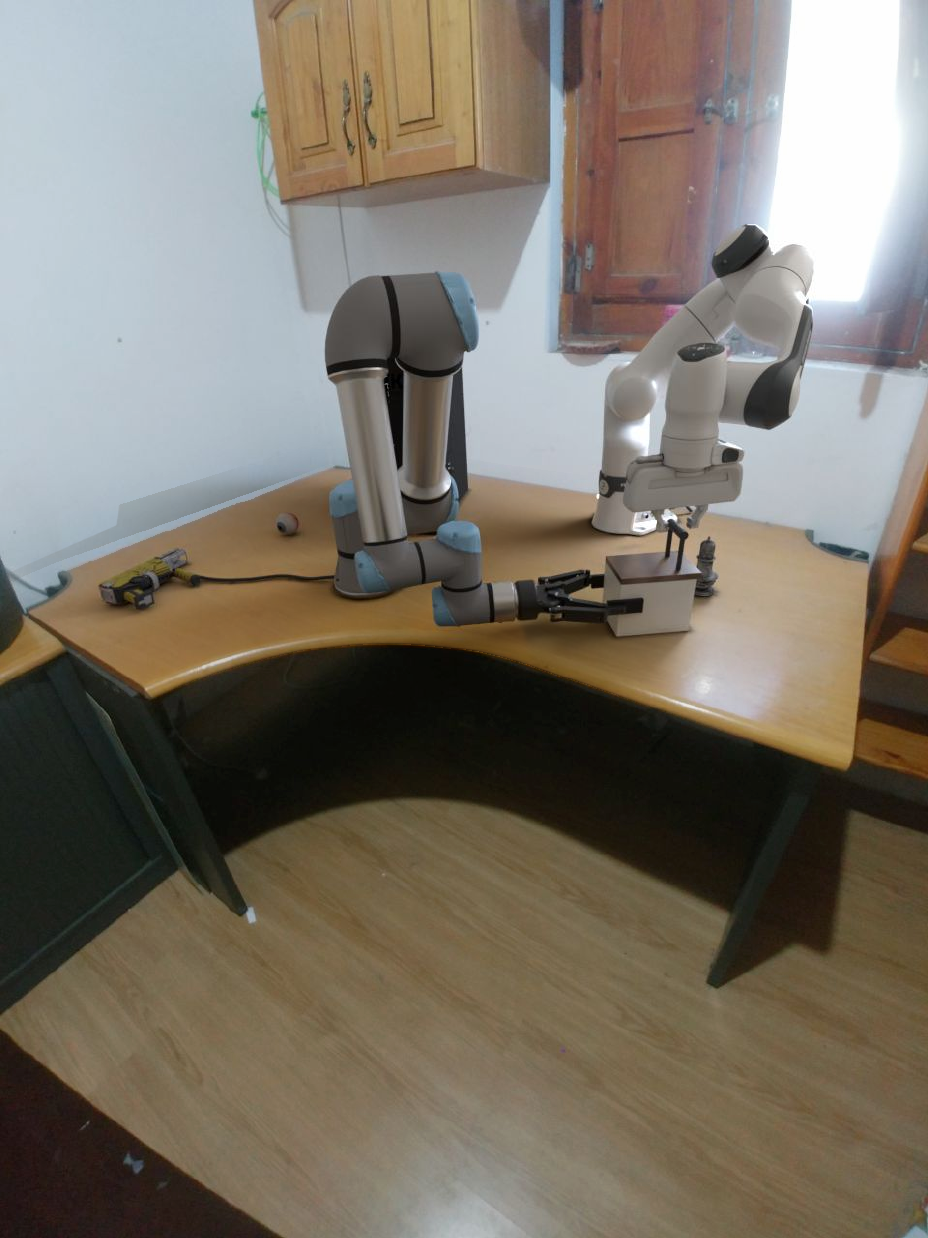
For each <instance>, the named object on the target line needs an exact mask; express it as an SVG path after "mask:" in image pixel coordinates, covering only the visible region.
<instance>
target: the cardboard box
mask: <svg viewBox="0 0 928 1238" xmlns="http://www.w3.org/2000/svg"><path fill="white" fill-rule="evenodd" d="M387 365H388V371H389V372H388V374H387V375H386V376H385V378H384V387H385V394H386V400H387V407H388V413H389V420H390V426H391V433H392V439H393V446H394V452H395V459H396V465H397V471H398V470H399V468H400V467H401V466H403V407H404V371H403V370H402V369H401V368H400V367H399V366H398V365H397V363H396V360H395V358H387ZM463 375H464V374H463V366H462V367H461V369H460V370H459V371H458V372H457V373H455V374H454V375H453V381H452V392H451V404H450V415H449V427H448V439H447V450H446V462H445V469H446V470H447V471H448V472H449V474H450V475H451V476H452V477H453V478H454V480H455V482H456V485H457V489H458V496H459V498H458V502H459V503H460V502H461V500H462V499H463V497H464V496H465V495H466V493H467V491H468V490H469V479H468V477H469V476H468V457H467V455H468V454H467V439H466V437H467V436H466V418H465V417H466V415H465V399H464V397H465V396H464V395H465V394H464V377H463ZM419 535H437V531H434V532H433V531H432V532H426V533H419Z"/></svg>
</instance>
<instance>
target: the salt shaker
mask: <svg viewBox="0 0 928 1238" xmlns="http://www.w3.org/2000/svg"><path fill="white" fill-rule="evenodd" d="M716 548H717V547H716V542H715V541H714V540H712V538H711V536H708V537H707V539H704V540H702V541H701V542H700V544H699V550H698V554H697V555H696V559H697V561H696V565H695V567H696V568H697V569H698V570H699V571H700V572H701V573H702V574H701V579H697V581H696V587H695V593H694V596H699V597H708V596H712V595H714V593H715V589H714V588H713V586H714V585H715V583H716V582H717V580H718V579H719V574H718V573H717V571H714V570H713V566H714V561H715V560H716V556H715V553H716Z"/></svg>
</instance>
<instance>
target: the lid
mask: <svg viewBox="0 0 928 1238" xmlns="http://www.w3.org/2000/svg"><path fill="white" fill-rule="evenodd" d="M667 522H668V523H669V526H668V531H667V535H666V542H665V550H664V551H656V552H644V553H643V552H642V553H631V554H630V553H629V554H628V553H627V554H618V555H617V554H616V555H606V556H605V562H606V563H607V565H608V566H609V568H610V569H611V570H612V572H613V573H614V575H615V576H616V578H617V579H618V581H619V582H620V584H621V585H626V584H638V583H651V582H664V581H677V580H689V579H701V574H702V573H701V572H700V571H699V570H698V569H697V568H696V565H695V564H694V563H693V562H692V561H691V560H690V559H689V558H688V557H687V556H686V555H685V554H684V550H685V542H686V541H687V539H688V538H689V536H690V534H689V532H688V531H687V530H686V529H685V528H683V526H681V525H680V524H679V523H678V521H677V522H676V521H675V520H674V519H669V520H667ZM673 534H674V535H676V537H677V538H678V539H679V541H678V542H679V543H678V550H672V549H671V547H672V541H673Z"/></svg>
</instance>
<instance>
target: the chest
mask: <svg viewBox="0 0 928 1238" xmlns="http://www.w3.org/2000/svg"><path fill="white" fill-rule="evenodd" d="M604 574H605V575H604V588H602V602H601V603H607V600H619V599H633V598H643V599H644V603H643V612H642V613H633V614H622V615H610V616H608V617H607V623H608V624H609V626H610V628H611V629H612V631H613V633H614V635H615V637H627V636H639V635H651V634H653V635H654V634H662V633H663V634H665V633H679V632H689V630H690V623H691V617H692V611H693V605H694V598H695V595H694V593H695V587H696V581H697V579H689V580H677V581H664V582H651V583H638V584H626V585H621V584H620V582H619V581H618V579H617V578H616V576H615V575H614V573H613V572H612V570H611V569H610V568H609V566H608V565H607V563H606V561H605V563H604Z"/></svg>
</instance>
